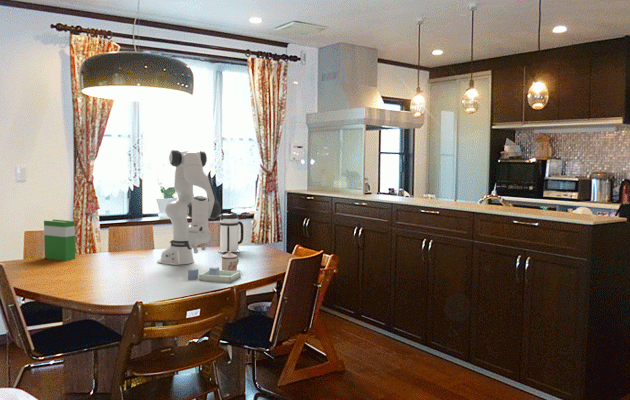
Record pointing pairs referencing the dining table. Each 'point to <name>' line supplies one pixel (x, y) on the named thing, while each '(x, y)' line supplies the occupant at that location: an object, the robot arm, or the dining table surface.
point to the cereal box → (59, 239)
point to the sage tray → (220, 276)
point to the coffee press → (229, 232)
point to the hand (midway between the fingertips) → (199, 251)
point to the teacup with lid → (229, 262)
